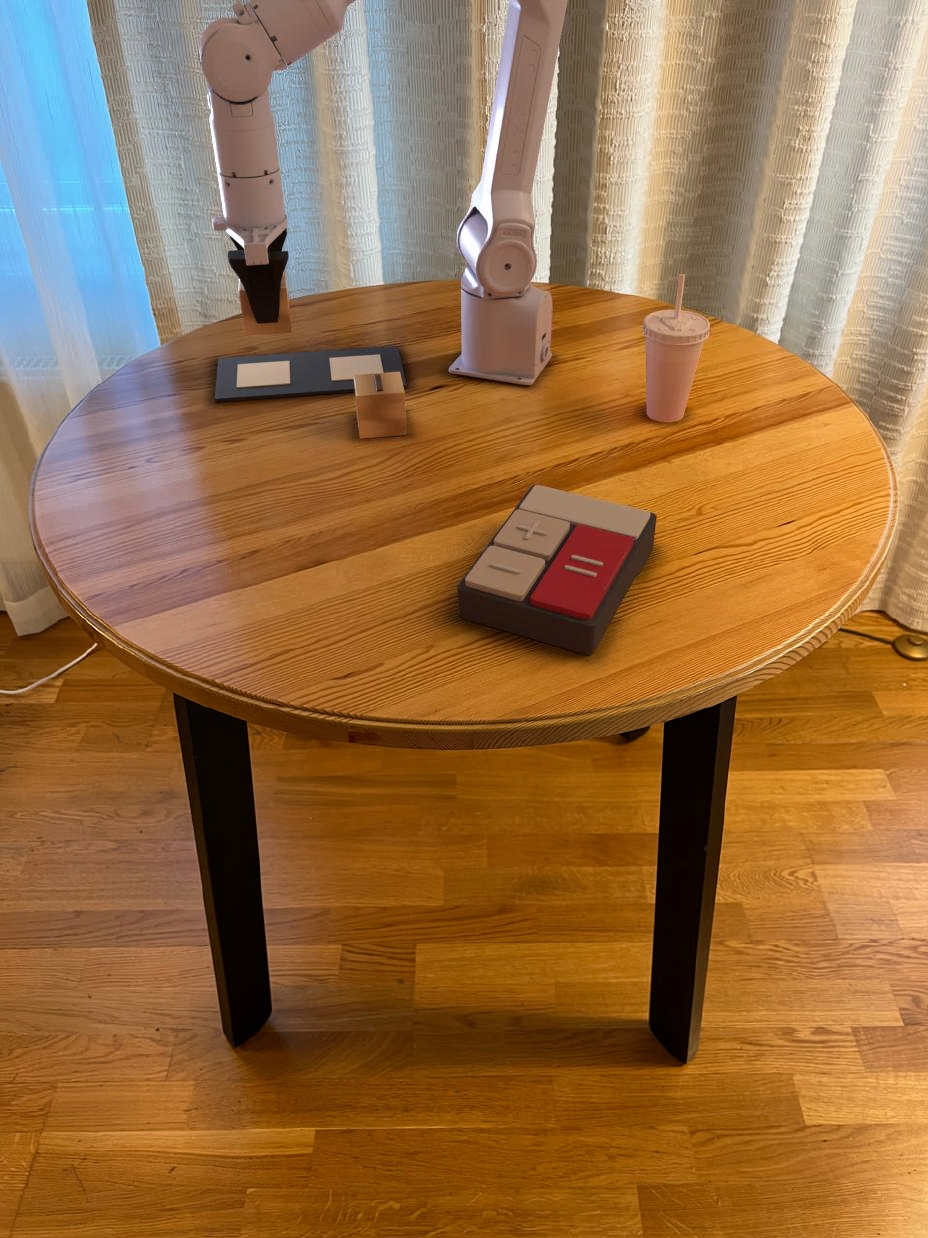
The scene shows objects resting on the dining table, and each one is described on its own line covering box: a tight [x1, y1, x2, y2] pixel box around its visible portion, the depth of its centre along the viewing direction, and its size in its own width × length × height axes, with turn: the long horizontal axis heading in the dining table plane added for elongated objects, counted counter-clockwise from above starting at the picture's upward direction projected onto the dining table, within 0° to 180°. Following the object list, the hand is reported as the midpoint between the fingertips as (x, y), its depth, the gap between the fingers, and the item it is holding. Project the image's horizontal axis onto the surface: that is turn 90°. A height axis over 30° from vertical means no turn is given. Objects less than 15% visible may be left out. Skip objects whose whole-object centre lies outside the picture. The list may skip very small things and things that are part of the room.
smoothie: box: [641, 273, 711, 424], centre depth 99 cm, size 6×6×14 cm
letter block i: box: [354, 372, 408, 440], centre depth 100 cm, size 5×5×5 cm
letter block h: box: [238, 270, 293, 337], centre depth 102 cm, size 5×5×5 cm
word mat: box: [214, 345, 408, 403], centre depth 111 cm, size 20×10×1 cm, turn 98°
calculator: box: [456, 484, 658, 656], centre depth 80 cm, size 11×4×15 cm
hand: (267, 311), depth 103 cm, fingers closed on letter block h, 4 cm apart
